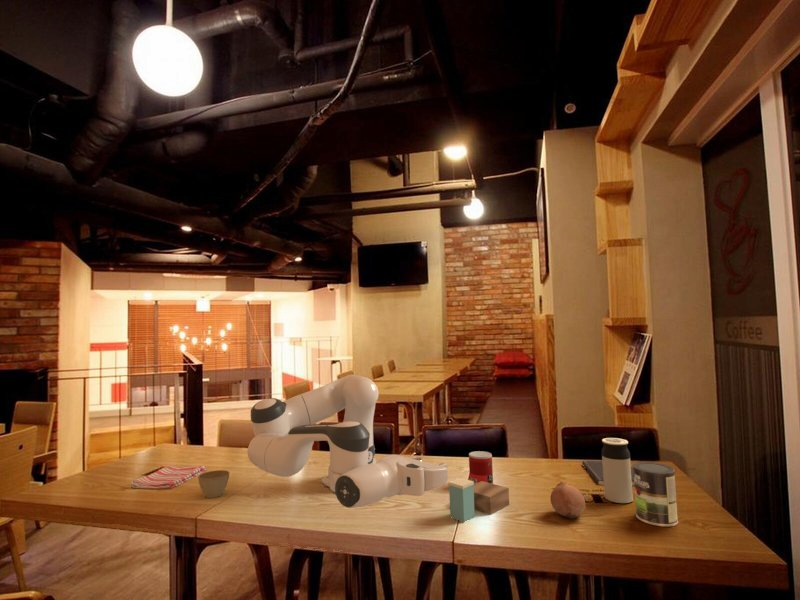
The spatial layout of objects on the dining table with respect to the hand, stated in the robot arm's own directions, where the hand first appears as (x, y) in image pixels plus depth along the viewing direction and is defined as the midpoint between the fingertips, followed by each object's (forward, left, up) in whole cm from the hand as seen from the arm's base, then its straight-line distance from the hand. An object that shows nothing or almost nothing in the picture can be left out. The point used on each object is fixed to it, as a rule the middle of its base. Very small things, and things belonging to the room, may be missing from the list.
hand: (432, 463), depth 121 cm
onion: (+22, +33, -18) cm, 44 cm away
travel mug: (+28, +55, -18) cm, 65 cm away
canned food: (-11, +37, -18) cm, 43 cm away
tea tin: (0, +12, -18) cm, 22 cm away
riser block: (0, +24, -18) cm, 30 cm away
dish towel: (-107, -34, -19) cm, 114 cm away
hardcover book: (+18, +78, -19) cm, 82 cm away
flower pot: (-75, -30, -18) cm, 83 cm away
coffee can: (+41, +47, -18) cm, 65 cm away
